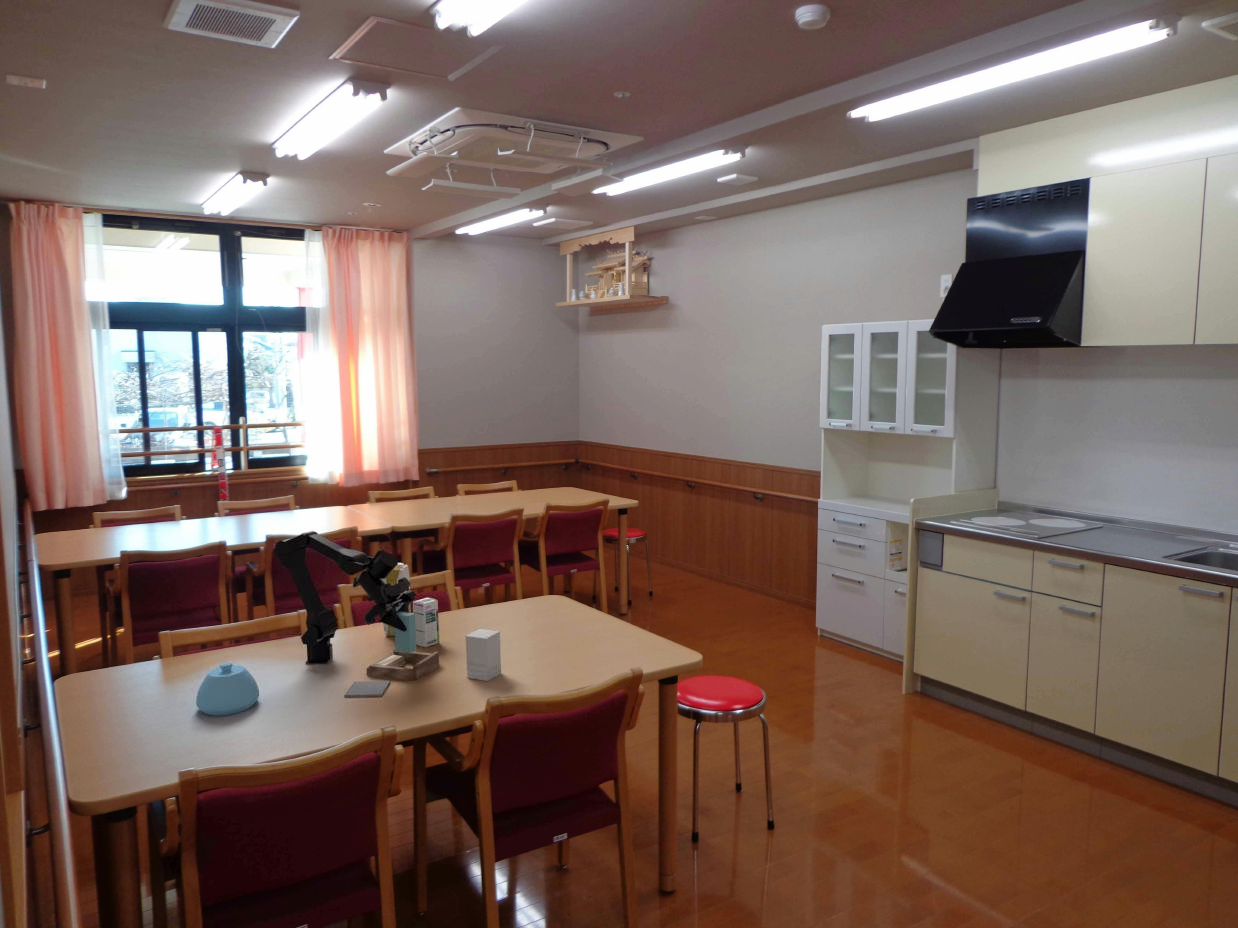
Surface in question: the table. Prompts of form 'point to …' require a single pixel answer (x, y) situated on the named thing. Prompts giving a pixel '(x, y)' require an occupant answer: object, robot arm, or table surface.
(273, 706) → the table surface
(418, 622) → the syrup box
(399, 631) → the teal board
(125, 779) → the table surface
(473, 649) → the supplement box
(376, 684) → the grey mat
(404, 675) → the walnut tray
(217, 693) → the sugar bowl
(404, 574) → the juice carton
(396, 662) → the offcut stack
